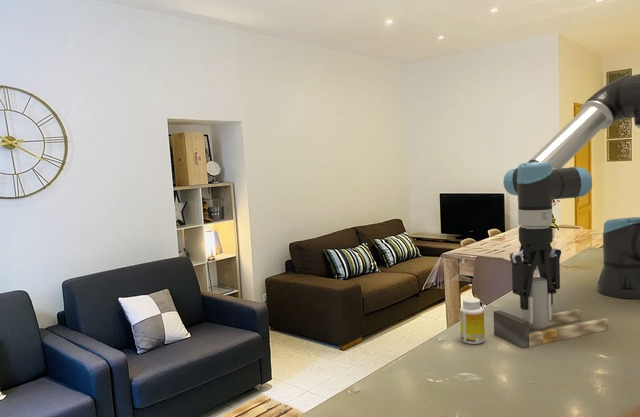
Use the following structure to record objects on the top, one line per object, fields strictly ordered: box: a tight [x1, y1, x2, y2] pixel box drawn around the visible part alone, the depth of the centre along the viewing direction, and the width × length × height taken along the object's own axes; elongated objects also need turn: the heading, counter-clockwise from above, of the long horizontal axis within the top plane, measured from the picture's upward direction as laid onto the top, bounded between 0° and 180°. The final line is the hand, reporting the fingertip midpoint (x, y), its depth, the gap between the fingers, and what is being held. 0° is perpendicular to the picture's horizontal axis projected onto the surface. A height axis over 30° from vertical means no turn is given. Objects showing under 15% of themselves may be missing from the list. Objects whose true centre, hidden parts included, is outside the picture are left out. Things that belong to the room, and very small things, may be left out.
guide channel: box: [493, 308, 609, 349], centre depth 121 cm, size 26×10×6 cm, turn 108°
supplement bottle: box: [459, 297, 486, 345], centre depth 118 cm, size 6×6×10 cm
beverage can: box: [529, 276, 549, 331], centre depth 119 cm, size 5×5×12 cm
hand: (536, 320), depth 119 cm, fingers closed on beverage can, 5 cm apart
